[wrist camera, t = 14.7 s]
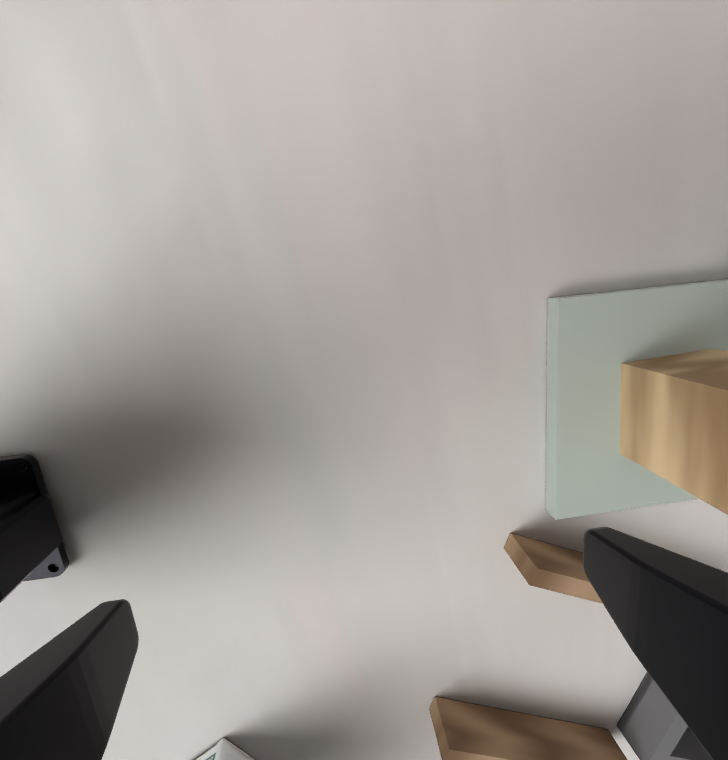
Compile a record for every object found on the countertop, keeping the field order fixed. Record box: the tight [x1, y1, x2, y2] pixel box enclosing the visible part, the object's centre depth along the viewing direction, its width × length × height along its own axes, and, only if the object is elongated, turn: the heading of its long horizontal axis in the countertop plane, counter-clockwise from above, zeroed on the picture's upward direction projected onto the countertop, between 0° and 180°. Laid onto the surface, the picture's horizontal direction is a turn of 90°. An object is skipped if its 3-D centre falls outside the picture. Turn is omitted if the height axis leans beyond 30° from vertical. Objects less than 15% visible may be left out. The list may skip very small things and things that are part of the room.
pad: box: [546, 279, 728, 520], centre depth 22 cm, size 12×12×1 cm
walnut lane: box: [429, 533, 627, 760], centre depth 24 cm, size 13×13×3 cm
